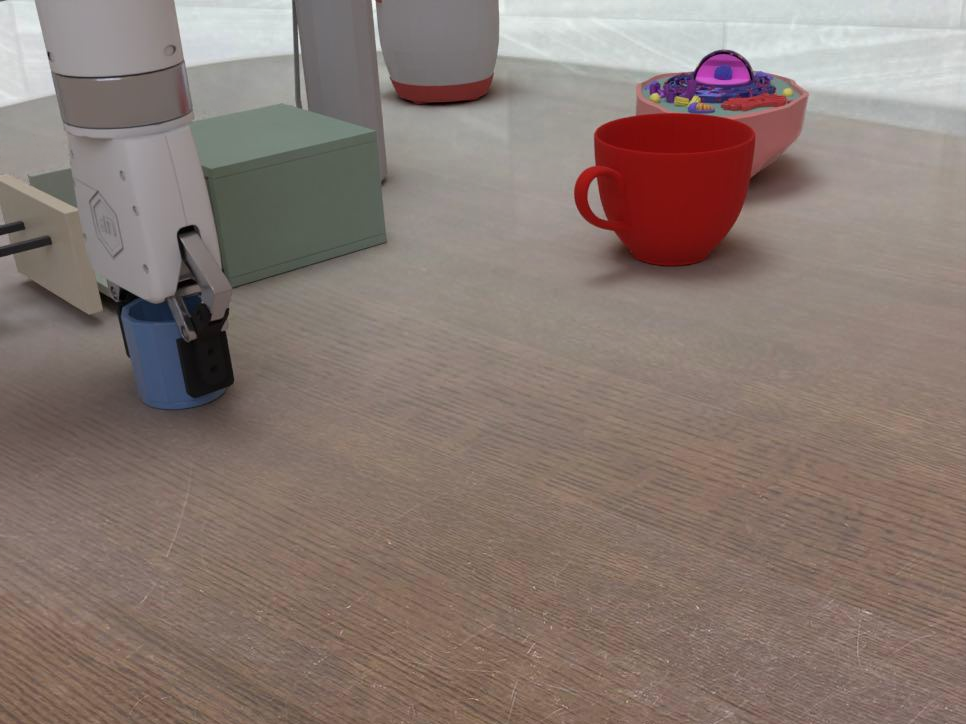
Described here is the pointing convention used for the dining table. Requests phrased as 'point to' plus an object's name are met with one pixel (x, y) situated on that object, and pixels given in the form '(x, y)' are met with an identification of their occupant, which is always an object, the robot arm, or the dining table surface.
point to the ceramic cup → (669, 183)
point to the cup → (158, 354)
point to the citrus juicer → (439, 47)
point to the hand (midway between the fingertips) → (179, 370)
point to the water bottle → (339, 63)
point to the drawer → (53, 236)
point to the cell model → (732, 100)
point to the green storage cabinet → (289, 188)
